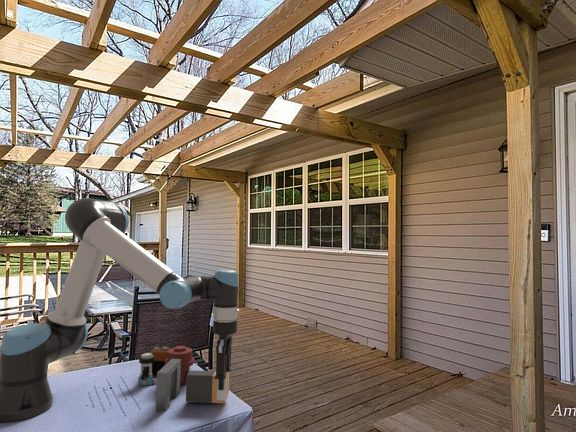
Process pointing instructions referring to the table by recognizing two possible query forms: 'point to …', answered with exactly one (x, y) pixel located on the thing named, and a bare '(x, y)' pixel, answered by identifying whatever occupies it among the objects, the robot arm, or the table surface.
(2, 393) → the robot arm
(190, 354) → the mechanical component
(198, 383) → the grey and orange block
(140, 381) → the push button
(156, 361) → the battery
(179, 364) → the grey piece
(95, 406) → the table surface
